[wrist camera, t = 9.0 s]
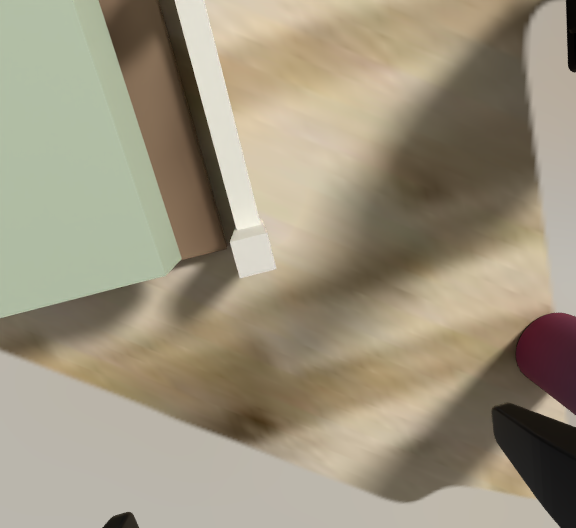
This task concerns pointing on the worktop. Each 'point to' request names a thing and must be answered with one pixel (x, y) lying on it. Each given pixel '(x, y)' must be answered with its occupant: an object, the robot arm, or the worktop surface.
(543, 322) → the cup
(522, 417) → the robot arm
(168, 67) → the peg stand
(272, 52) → the worktop surface
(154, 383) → the worktop surface
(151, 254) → the board
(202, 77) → the u-shaped frame
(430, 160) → the worktop surface
